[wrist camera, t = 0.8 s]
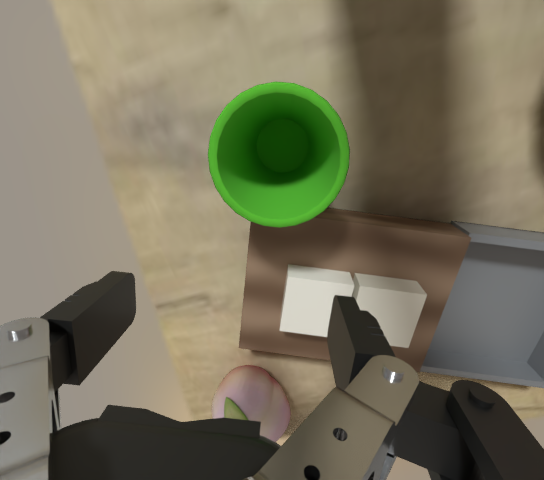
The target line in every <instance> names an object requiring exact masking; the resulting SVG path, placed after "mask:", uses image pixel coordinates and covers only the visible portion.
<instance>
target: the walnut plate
mask: <svg viewBox="0 0 544 480" xmlns="http://www.w3.org/2000/svg"><path fill="white" fill-rule="evenodd" d="M470 241H471V237H470V236H468V235H467V234H465V233H464V232H462V231H461V230H459V229H458V228H456V227H455V226H453V225H452V224H450V223H442V222H434V221H426V220H419V219H411V218H403V217H395V216H388V215H380V214H372V213H364V212H356V211H349V210H341V209H333V208H326V209H325V210H324V211H323V212H322V213H320V214H319V215H317V216H316V217H314V218H313V219H311V220H309V221H306V222H304V223H301V224H298V225H296V226H288V227H280V228H279V227H269V226H263V225H260V224H257V223H254V222H251V225H250V235H249V246H248V256H247V267H246V278H245V288H244V299H243V309H242V320H241V331H240V341H239V348H242V349H250V350H257V351H265V352H272V353H279V354H287V355H294V356H302V357H309V358H317V359H324V360H331V359H330V354H329V349H328V344H327V337H322V336H315V335H307V334H300V333H292V332H285V331H280V315H281V308H282V301H283V295H284V288H285V282H286V275H287V268H288V264H291V265H299V266H306V267H314V268H322V269H329V270H337V271H344V272H350V274H351V277H352V280H353V278H354V274H355V273H360V274H367V275H375V276H383V277H390V278H398V279H405V280H413V281H417V282H418V283H419V285H420V286H421V287H422V289H423V290H424V291H425V293H426V294H427V297H426V300H425V303H424V305H423V308H422V311H421V314H420V317H419V319H418V322H417V325H416V328H415V331H414V333H413V336H412V339H411V342H410V345H409V348H404V347H397V346H391V348H392V350H393V352H394V354H395V356H396V358H398V359H401V360H403V361H404V362H406V363H407V364H409V365H410V366H411V367H412V368H413V369H414V370H415V371H416V372H420V370H421V367H422V364H423V362H424V359H425V357H426V354H427V351H428V349H429V346H430V344H431V341H432V339H433V336H434V333H435V331H436V328H437V326H438V323H439V321H440V318H441V315H442V313H443V310H444V308H445V305H446V302H447V300H448V297H449V295H450V292H451V290H452V287H453V284H454V282H455V279H456V277H457V274H458V272H459V269H460V266H461V264H462V261H463V259H464V256H465V253H466V251H467V248H468V246H469V243H470Z"/></svg>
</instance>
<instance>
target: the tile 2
mask: <svg viewBox="0 0 544 480" xmlns="http://www.w3.org/2000/svg"><path fill="white" fill-rule="evenodd" d="M353 283H354V289H353V293H352V297H354V298H355V299H356V302H357V304H358V306H359V309H360V310H364V311H368V312H369V313H370V314H371V315H373V316H374V317H375V318H376V319H377V321H378V323H379V325H380V327H381V329H382V331H383V333H384V336H385V337H386V339H387V341H388V343H389V344H390V346H397V347H404V348H409V345H410V342H411V339H412V336H413V333H414V331H415V328H416V325H417V322H418V319H419V317H420V314H421V311H422V308H423V305H424V303H425V300H426V297H427V294H426V293H425V291H424V290H423V289H422V287H421V286H420V285H419V283H418V282H417V281H413V280H405V279H398V278H390V277H383V276H375V275H367V274H360V273H355V274H354V278H353Z"/></svg>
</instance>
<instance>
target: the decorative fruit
mask: <svg viewBox="0 0 544 480" xmlns="http://www.w3.org/2000/svg"><path fill="white" fill-rule="evenodd" d="M290 415H291V412H290V405H289V402H288V399H287V397H286V395H285V393H284V391H283V389H282V387H281V386H280V385H279V383H278V382H277V381H276V380H275V379H274V378H272V377H270V375H269V373H268V372H267V371H265V370H264V369H262V368H260V367H257V366H252V365H244V366H239V367H237V368H235V369H233V370H232V371H230V372H229V373H228V374H227V375H226V376H225V378H224V379H223V380H222V382H221V384H220V385H219V387H218V389H217V391H216V393H215V395H214V398H213V402H212V417H213V419H215V418H232V419H241V420H250V421H259V422H261V426H260V435H261V436H264V437H266V438H268V439H270V440H272V441H274V442H276V441H277V440H278V439H279V438H280V437H281V436H282V435H283V434H284V432H285V430H286V429H287V426H288V424H289V421H290Z"/></svg>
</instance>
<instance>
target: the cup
mask: <svg viewBox="0 0 544 480" xmlns="http://www.w3.org/2000/svg"><path fill="white" fill-rule="evenodd" d="M349 154H350V148H349V143H348V138H347V132H346V130H345V128H344V126H343V123H342V121H341V119H340V117H339V115H338V114H337V112H336V111H335V110H334V109H333V108H332V106H331V105H330V104H329V103H328V101H327V100H325V99H324V98H322V97H321V96H320V95H318V94H317V93H315V92H314V91H313V90H311V89H308V88H305V87H303V86H300V85H297V84H295V83H285V82H271V83H266V84H260V85H256V86H254V87H252V88H250V89H248V90H246V91H244V92H242V93H240V94H239V95H238V96H237V97H236V98H234V99H233V100H232V101H231V102H230V103H229V104H227V105H226V107H225V108H224V110H223V111H222V113H221V114H220V116H219V117H218V118H217V120H216V122H215V125H214V128H213V130H212V133H211V136H210V142H209V150H208V159H209V168H210V173H211V176H212V179H213V182H214V185H215V187H216V189H217V191H218V192H219V194H220V195H221V197H222V198H223V200H224V201H225V202H226V203H227V204H228V205H229V206H230V207H231V208H232V209H233V210H234V211H235V212H236V213H237V214H239V215H241V216H242V217H244V218H245V219H247V220H249V221H251V222H254V223H257V224H260V225H263V226H269V227H279V228H280V227H288V226H296V225H298V224H301V223H304V222H306V221H309V220H311V219H313V218H314V217H316V216H317V215H319V214H320V213H322V212H323V211H324V210H325V209H326V208H327V207H328V206H329V205H330V204H331V203H332V202H333V201H334V200H335V199H336V197H337V195H338V193H339V192H340V190H341V188H342V186H343V185H344V182H345V179H346V175H347V172H348V168H349Z"/></svg>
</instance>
